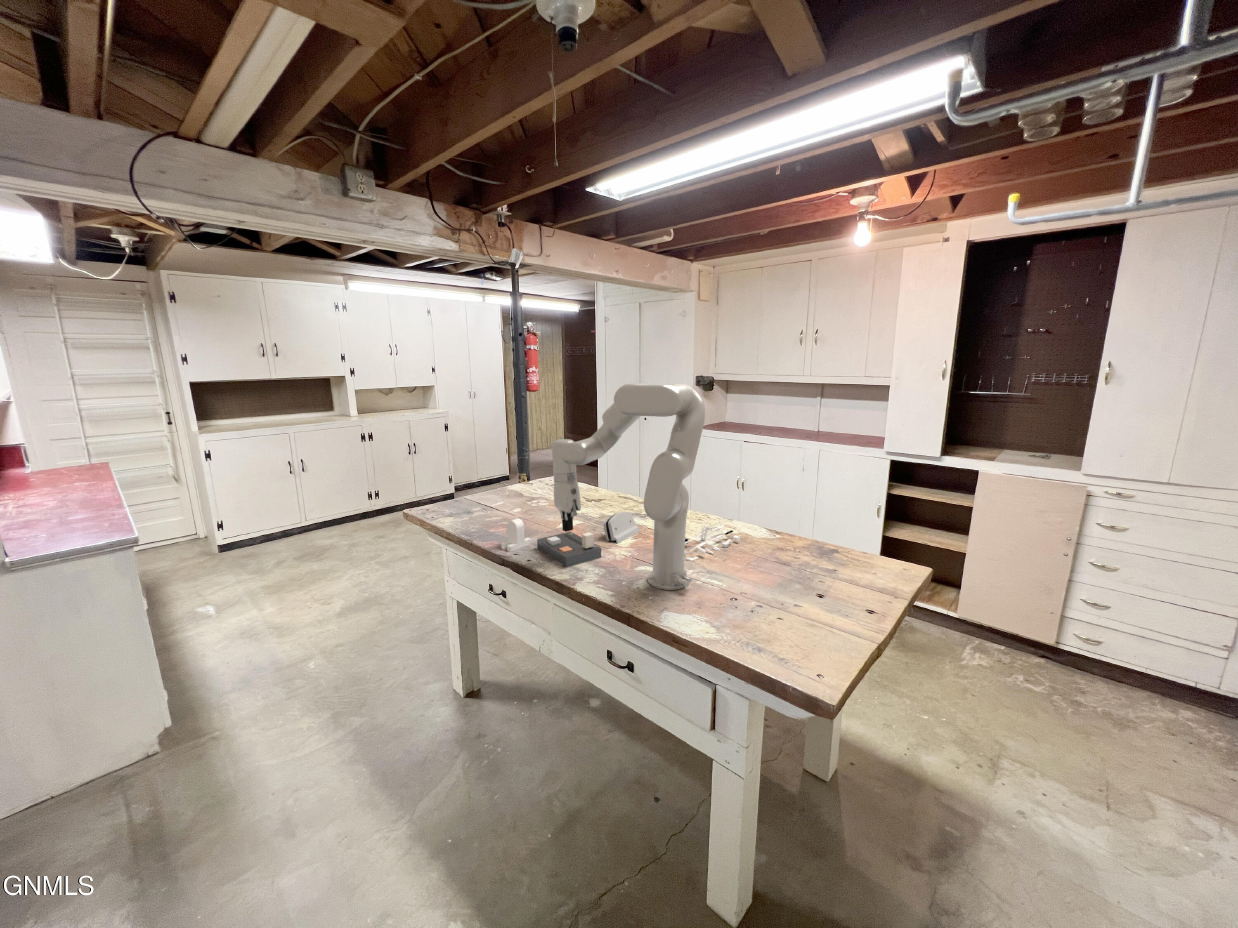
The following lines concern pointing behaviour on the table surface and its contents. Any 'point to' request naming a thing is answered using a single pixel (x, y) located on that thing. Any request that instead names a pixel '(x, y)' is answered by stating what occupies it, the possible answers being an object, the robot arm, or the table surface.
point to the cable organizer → (515, 536)
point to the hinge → (620, 527)
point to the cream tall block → (587, 540)
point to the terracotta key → (565, 549)
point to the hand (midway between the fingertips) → (567, 530)
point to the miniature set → (724, 544)
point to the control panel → (569, 557)
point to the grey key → (553, 540)
